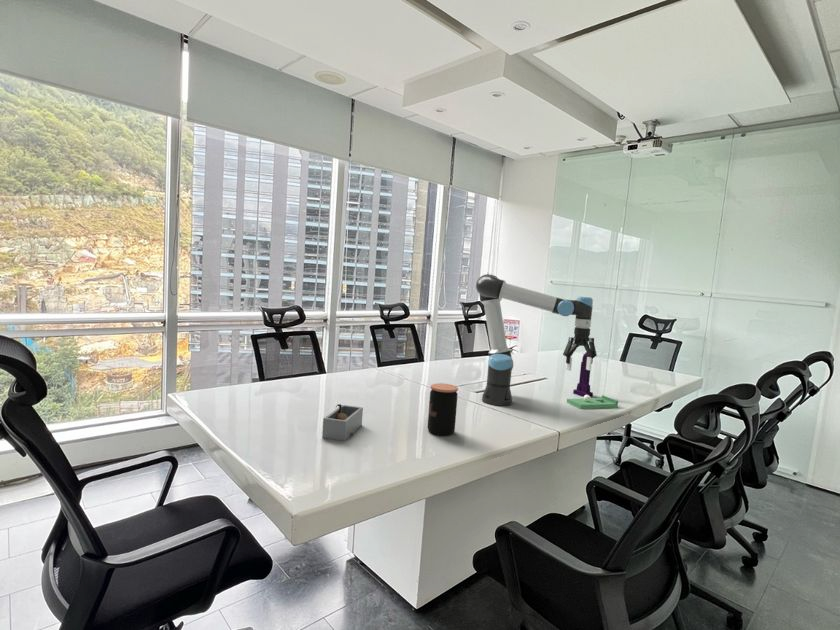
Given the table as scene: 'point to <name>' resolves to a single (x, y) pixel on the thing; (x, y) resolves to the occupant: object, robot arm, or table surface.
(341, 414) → the figurine
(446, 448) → the table surface
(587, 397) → the ball
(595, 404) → the green
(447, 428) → the coffee jar
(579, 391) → the building model
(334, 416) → the open storage box
